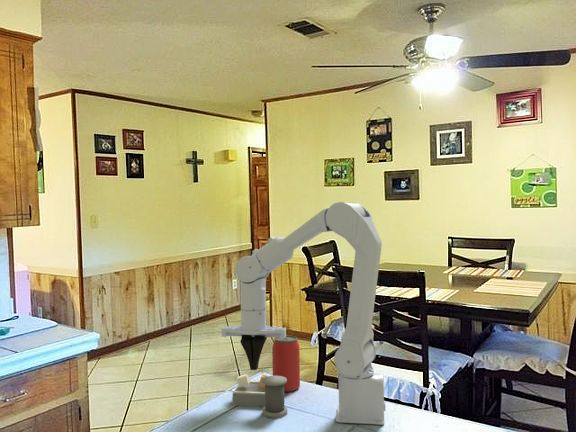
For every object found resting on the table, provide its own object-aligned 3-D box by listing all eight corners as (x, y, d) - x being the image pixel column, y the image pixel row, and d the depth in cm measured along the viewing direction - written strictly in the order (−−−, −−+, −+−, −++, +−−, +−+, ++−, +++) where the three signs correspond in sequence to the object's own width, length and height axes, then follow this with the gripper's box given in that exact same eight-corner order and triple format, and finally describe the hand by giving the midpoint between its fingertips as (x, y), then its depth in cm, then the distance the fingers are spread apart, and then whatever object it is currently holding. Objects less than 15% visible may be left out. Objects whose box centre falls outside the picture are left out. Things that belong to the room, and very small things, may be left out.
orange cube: (269, 385, 112) (271, 377, 112) (267, 388, 110) (270, 380, 110) (260, 382, 112) (262, 374, 112) (258, 385, 111) (261, 376, 110)
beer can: (267, 390, 117) (267, 339, 117) (280, 381, 123) (280, 333, 123) (292, 394, 114) (291, 342, 114) (304, 385, 120) (304, 336, 120)
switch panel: (275, 393, 115) (275, 381, 115) (268, 406, 107) (268, 393, 107) (241, 391, 116) (241, 380, 116) (232, 404, 108) (232, 392, 108)
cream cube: (250, 382, 112) (247, 373, 113) (248, 384, 111) (245, 376, 111) (241, 384, 113) (238, 376, 113) (239, 387, 111) (236, 378, 111)
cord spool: (289, 408, 106) (288, 376, 106) (285, 418, 101) (284, 384, 101) (265, 407, 107) (264, 375, 107) (260, 417, 102) (259, 383, 101)
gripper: (287, 305, 114) (288, 364, 114) (227, 304, 116) (228, 362, 117) (282, 312, 107) (283, 374, 107) (218, 310, 110) (219, 371, 110)
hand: (254, 368), depth 111 cm, fingers closed
